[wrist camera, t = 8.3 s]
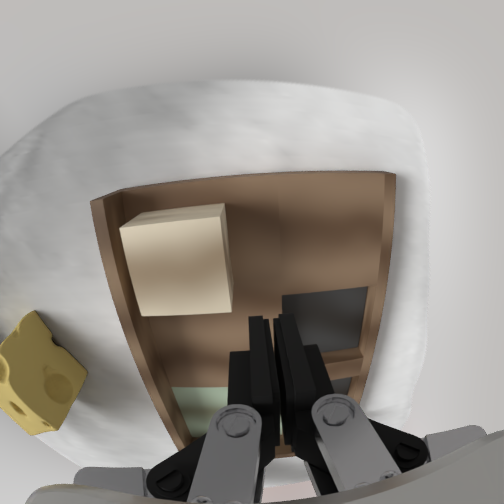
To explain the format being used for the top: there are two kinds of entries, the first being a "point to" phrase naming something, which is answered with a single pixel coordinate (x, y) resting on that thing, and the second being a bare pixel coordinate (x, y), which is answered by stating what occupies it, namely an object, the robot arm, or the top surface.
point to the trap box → (260, 282)
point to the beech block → (180, 260)
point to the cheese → (37, 377)
